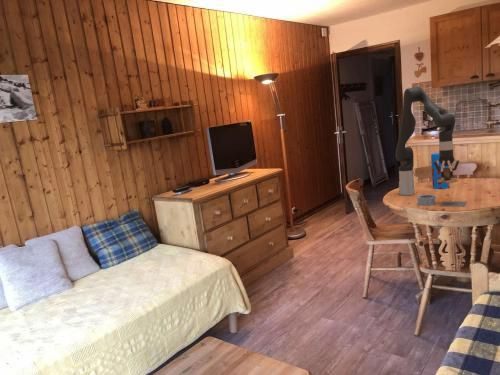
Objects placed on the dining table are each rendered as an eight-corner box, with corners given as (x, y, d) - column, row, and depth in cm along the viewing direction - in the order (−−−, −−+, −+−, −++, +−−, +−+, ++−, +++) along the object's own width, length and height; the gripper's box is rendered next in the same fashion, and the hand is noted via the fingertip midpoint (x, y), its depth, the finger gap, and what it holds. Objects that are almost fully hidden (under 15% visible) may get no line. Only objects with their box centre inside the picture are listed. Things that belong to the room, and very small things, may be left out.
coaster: (439, 207, 228) (439, 206, 227) (443, 202, 238) (443, 201, 238) (464, 207, 220) (464, 206, 220) (467, 202, 230) (467, 201, 230)
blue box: (448, 189, 271) (446, 153, 267) (431, 189, 277) (430, 155, 273) (449, 186, 280) (448, 152, 276) (433, 186, 286) (432, 153, 282)
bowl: (416, 206, 237) (415, 198, 236) (419, 202, 245) (419, 194, 244) (434, 206, 231) (433, 198, 230) (437, 202, 239) (436, 194, 238)
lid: (435, 183, 228) (435, 170, 226) (438, 179, 236) (438, 166, 235) (456, 182, 221) (456, 169, 220) (458, 179, 230) (458, 166, 229)
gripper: (431, 150, 227) (433, 179, 230) (459, 149, 219) (459, 178, 222) (434, 148, 233) (435, 176, 236) (460, 147, 225) (461, 176, 228)
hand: (447, 177), depth 229 cm, fingers closed on lid, 3 cm apart
